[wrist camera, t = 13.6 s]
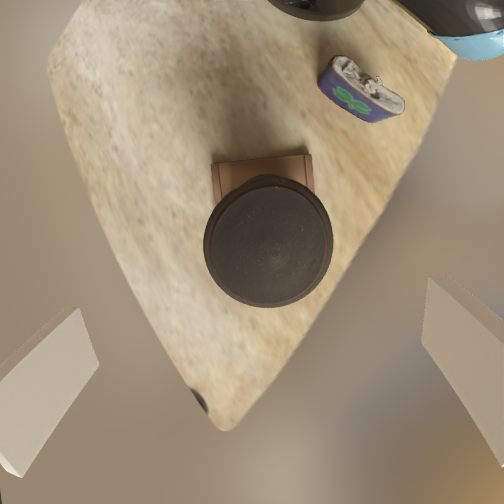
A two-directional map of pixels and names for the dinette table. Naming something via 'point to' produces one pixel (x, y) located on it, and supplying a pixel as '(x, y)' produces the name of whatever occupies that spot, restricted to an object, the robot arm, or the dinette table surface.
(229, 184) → the square wooden tray
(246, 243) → the container
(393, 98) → the flask
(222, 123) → the dinette table surface
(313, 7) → the robot arm
